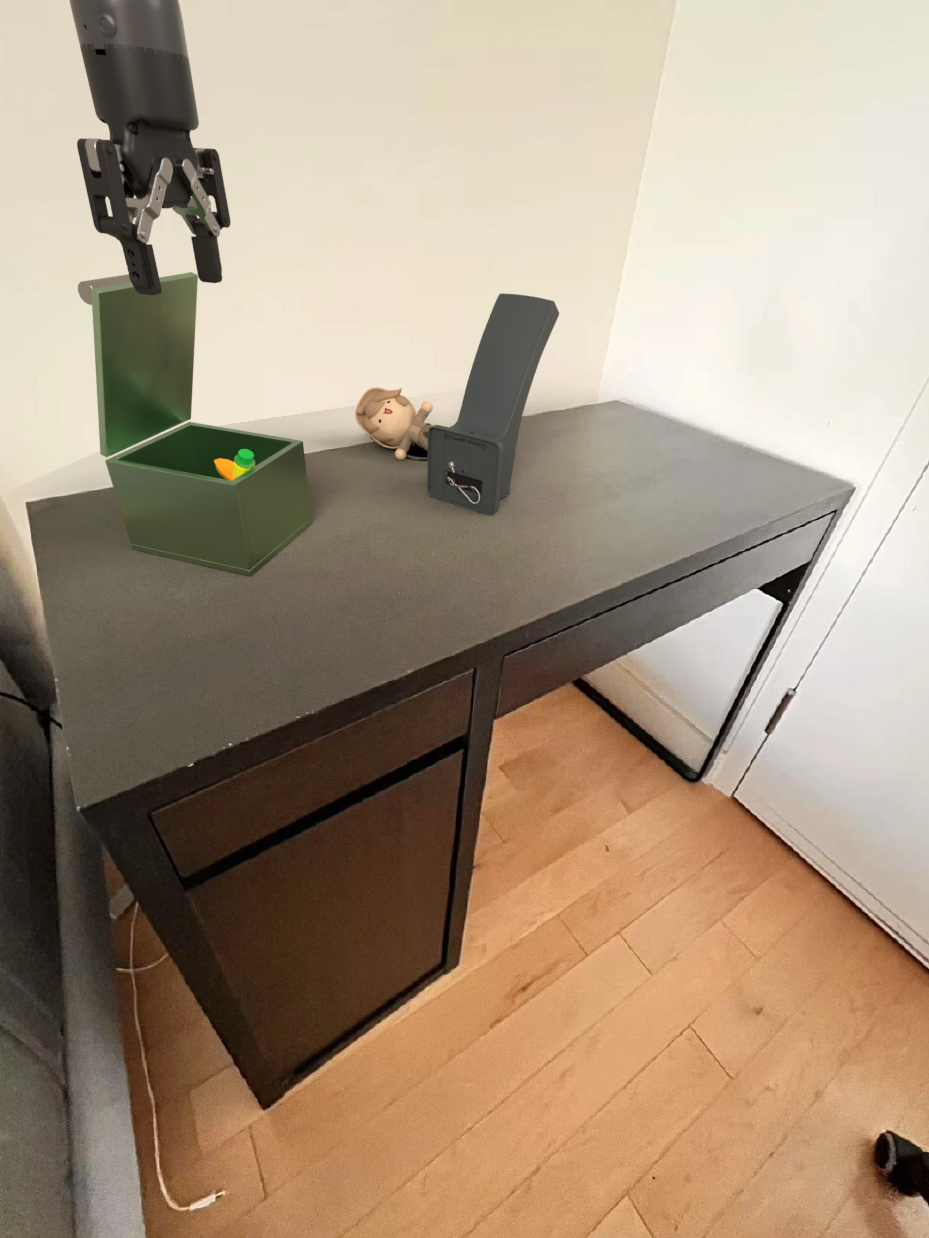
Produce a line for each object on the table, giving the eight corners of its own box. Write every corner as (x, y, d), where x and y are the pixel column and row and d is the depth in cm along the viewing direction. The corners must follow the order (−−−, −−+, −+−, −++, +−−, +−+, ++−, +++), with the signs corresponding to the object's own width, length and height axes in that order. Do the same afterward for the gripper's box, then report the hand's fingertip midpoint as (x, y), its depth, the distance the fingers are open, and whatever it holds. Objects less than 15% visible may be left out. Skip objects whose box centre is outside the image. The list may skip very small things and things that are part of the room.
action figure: (407, 456, 89) (339, 425, 96) (442, 487, 98) (378, 456, 105) (441, 394, 88) (371, 368, 95) (473, 431, 98) (407, 405, 105)
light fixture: (548, 476, 94) (571, 299, 79) (492, 518, 82) (508, 317, 67) (486, 459, 98) (498, 288, 84) (425, 496, 86) (426, 304, 72)
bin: (312, 523, 78) (303, 440, 72) (250, 576, 67) (233, 484, 61) (207, 502, 81) (189, 421, 75) (132, 550, 71) (104, 460, 64)
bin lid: (198, 275, 64) (149, 251, 65) (98, 292, 54) (41, 264, 54) (191, 419, 75) (149, 398, 75) (106, 457, 64) (58, 434, 64)
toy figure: (202, 523, 72) (203, 436, 64) (227, 512, 75) (231, 426, 66) (243, 555, 71) (249, 471, 62) (267, 543, 73) (276, 460, 65)
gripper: (158, 62, 53) (196, 276, 62) (13, 27, 42) (87, 294, 51) (233, 64, 51) (261, 283, 61) (104, 28, 40) (163, 303, 50)
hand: (181, 287), depth 56 cm, fingers open, 8 cm apart
